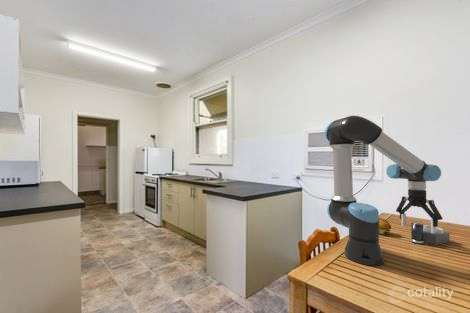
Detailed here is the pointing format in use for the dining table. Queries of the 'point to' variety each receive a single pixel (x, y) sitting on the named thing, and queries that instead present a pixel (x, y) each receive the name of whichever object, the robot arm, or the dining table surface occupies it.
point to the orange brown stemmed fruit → (384, 226)
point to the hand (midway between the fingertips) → (417, 229)
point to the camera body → (435, 235)
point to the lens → (417, 233)
